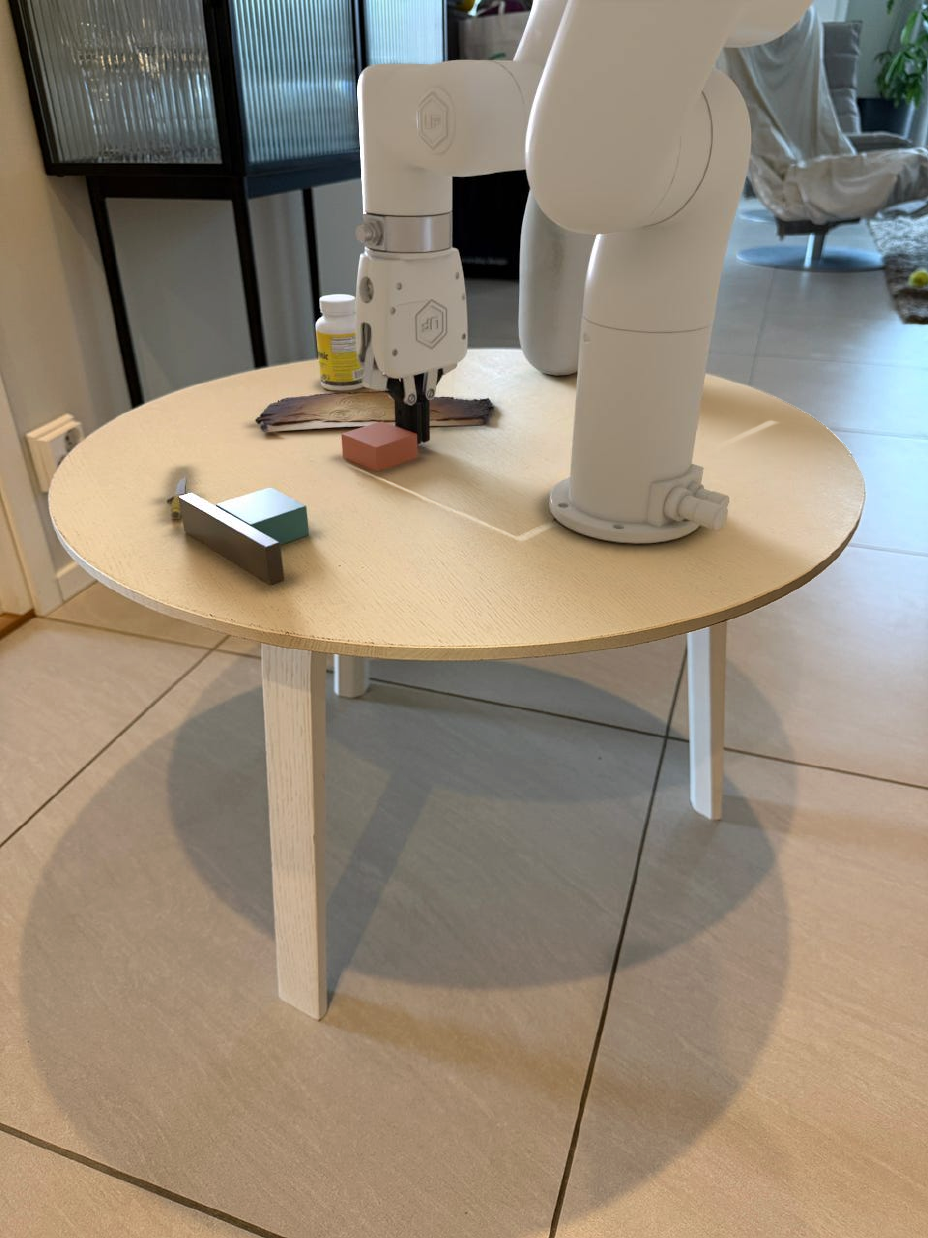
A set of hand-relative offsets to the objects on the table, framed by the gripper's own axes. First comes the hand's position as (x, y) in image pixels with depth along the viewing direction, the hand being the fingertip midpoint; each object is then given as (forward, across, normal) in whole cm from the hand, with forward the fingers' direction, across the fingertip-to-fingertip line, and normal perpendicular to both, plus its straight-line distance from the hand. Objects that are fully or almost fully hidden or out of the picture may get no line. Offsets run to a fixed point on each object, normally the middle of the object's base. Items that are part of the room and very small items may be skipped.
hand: (412, 439), depth 84 cm
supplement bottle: (+1, +8, +21) cm, 22 cm away
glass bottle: (+1, +30, +7) cm, 31 cm away
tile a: (+1, -21, -6) cm, 22 cm away
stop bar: (+1, -25, -8) cm, 26 cm away
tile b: (+1, -4, 0) cm, 4 cm away
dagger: (+1, -22, +5) cm, 23 cm away
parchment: (+1, +3, +10) cm, 10 cm away
